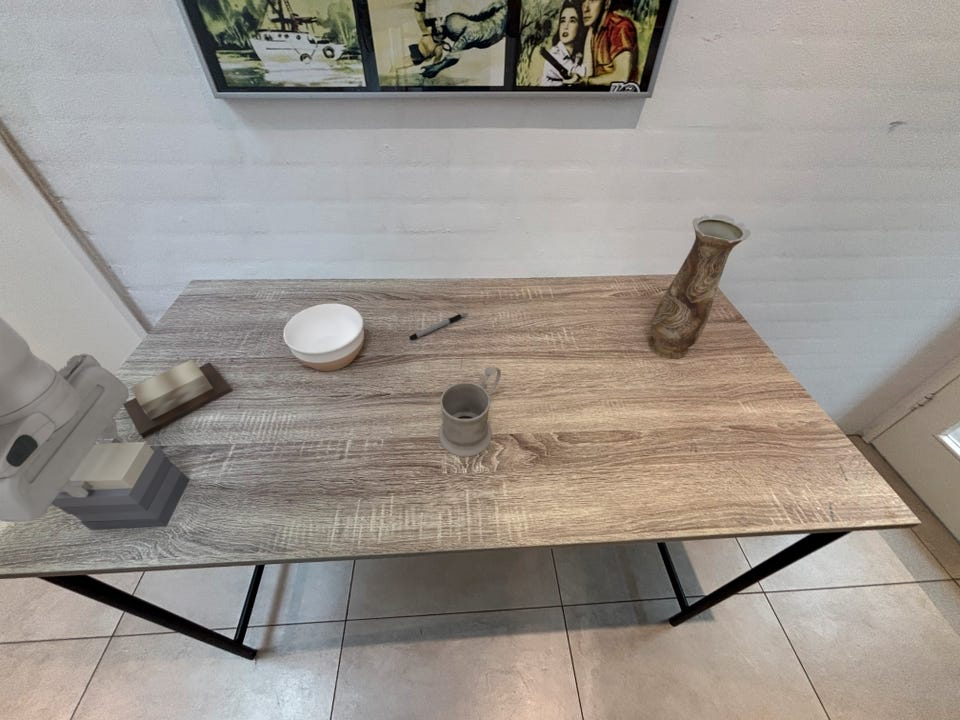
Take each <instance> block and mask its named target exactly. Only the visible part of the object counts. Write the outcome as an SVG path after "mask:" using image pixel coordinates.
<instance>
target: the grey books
mask: <svg viewBox="0 0 960 720" xmlns="http://www.w3.org/2000/svg"><path fill="white" fill-rule="evenodd" d="M149 446H150V447H151V448H152V450H153V451H154V453H153V454H152V456H151V458H150V459H149V461H148V463H147V464H146V466H145V468H144V470H143V471H142V473H141V475H140V476H139V478H138V480H137V481H136V483H135V485H134V486H133V488H130V489H104V490H90V492H89V493H88V495H87V496H86V497H73V496H71V495H70V494H68V493H67V492H60V493H59V494H58V495H57V497H56V498H55V500H54V501H53V502H52V504H51V505H52V506H54V507H56V508H58V509H60V510H62V511H63V512H64V513H66V514H68V515H72V516H74V517H75V518H77V519H78V520H80V524H81V525H83V526H84V527H86V528H88V529H89V530H91V531H92V530H114V529H136V528H139V529H140V528H161V527H167V526H168V523H169V522H170V520H171V517H172V515H173V513H174V511H175V509H176V507H177V505H178V503H179V501H180V499H181V497H182V495H183V493H184V492H185V489H186V487H187V485H188V483H189V481H190V478H189V477H188V476H187V475H186V474H185V473H184V472H183V471H182V470H181V469H180V468H179V467H178V466H177V465H176V464H175V463H173V462H172V461H171V460H170V459H168V457H167V454H166V453H165V451H163V449H162V448H161V447H160V446H159V445H149Z"/></svg>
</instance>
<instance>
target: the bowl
mask: <svg viewBox="0 0 960 720" xmlns="http://www.w3.org/2000/svg"><path fill="white" fill-rule="evenodd" d="M282 336H283V340H284V342H285V344H286V345H287V346H288V348H289V349H290V351H291V354H292V355H293V356H294V357H295V358H296V359H297V361H298V362H300V363H302V364H304V366H307V367H308V368H311V369H314V370H317V371H319V372H320V371H321V372H331V371H332V372H334V371H337V370H341V369H343V368H345V367H347V366H348V365H350V364H351V363H352V362H353V361H354V360H355V359H356V357H357V355H358V354H359V353H360V351H361V349H362V347H363V344H364V341H365V331H364V320H363V316H362V315H361V314H360V312H359V311H358V310H357V309H355V308H354V307H352V306H350V305H346V304H342V303H323V304H321V303H320V304H317V305H313V306H310V307H307V308H305V309H303V310H300V311H299V312H298V313H296V314H295V315H293V316H292V317H291V318H290V319H289V320H288V322H287V323H286V324H285V325H284V329H283V332H282Z"/></svg>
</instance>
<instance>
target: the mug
mask: <svg viewBox="0 0 960 720" xmlns="http://www.w3.org/2000/svg"><path fill="white" fill-rule="evenodd" d="M484 373H485V375H484V377H483V379H482V381H481V383H480V384H477V383H473V382H466V381H463V382H457V383H454V384H452V385H450V386H449V387H446V389H445V390H444V391H443V393H442V394H441V396H440V401H439V403H440V409H441V417H442V423H441V425H440V427H439V430H438V439H439V443H440V445H441V446H442V448H443V449H444V450H445V451H446V452H448V453H449V454H452V455H454V456H456V457H461V458H462V457H464V458H469V457H474V456H477V455H478V454H481V453H483V452H484V451H485V450H486V449H487V448H488V447H489V446H490V443H491V441H492V435H493V431H492V428H491V425H490V423H489V422H488V421H489V410H490V407H491V406H490V405H491V397H490V396H491V395H492V393H493V392H494V391H495V390H496V388H497V386H498V384H499V382H500V380H501V376H502V373H501V369H500V368H499V367H494V366H487V367H486V368H485V369H484ZM495 374H496V377H495V380H494V382H493V384H492V386H490V388H489V389H488V384H487V381H488V379H489V377H490V376H493V375H495ZM487 389H488V391H487ZM460 417H469V418H460Z"/></svg>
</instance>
